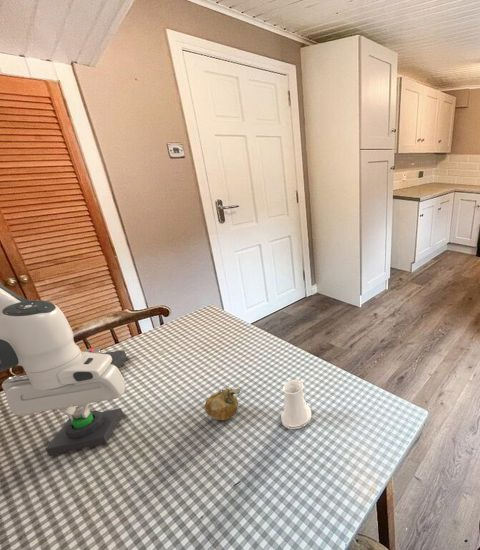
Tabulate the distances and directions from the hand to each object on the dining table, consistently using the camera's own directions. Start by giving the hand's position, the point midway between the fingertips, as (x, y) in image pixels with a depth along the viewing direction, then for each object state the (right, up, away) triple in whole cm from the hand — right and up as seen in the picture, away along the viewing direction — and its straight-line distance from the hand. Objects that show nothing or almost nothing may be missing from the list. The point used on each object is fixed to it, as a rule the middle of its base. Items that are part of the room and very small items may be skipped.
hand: (81, 417), depth 72 cm
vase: (+50, -3, +6) cm, 50 cm away
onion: (+31, -3, +7) cm, 32 cm away
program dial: (-17, +7, +22) cm, 29 cm away
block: (0, -5, +2) cm, 5 cm away
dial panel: (-17, +4, +24) cm, 29 cm away
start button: (0, -2, +1) cm, 2 cm away
